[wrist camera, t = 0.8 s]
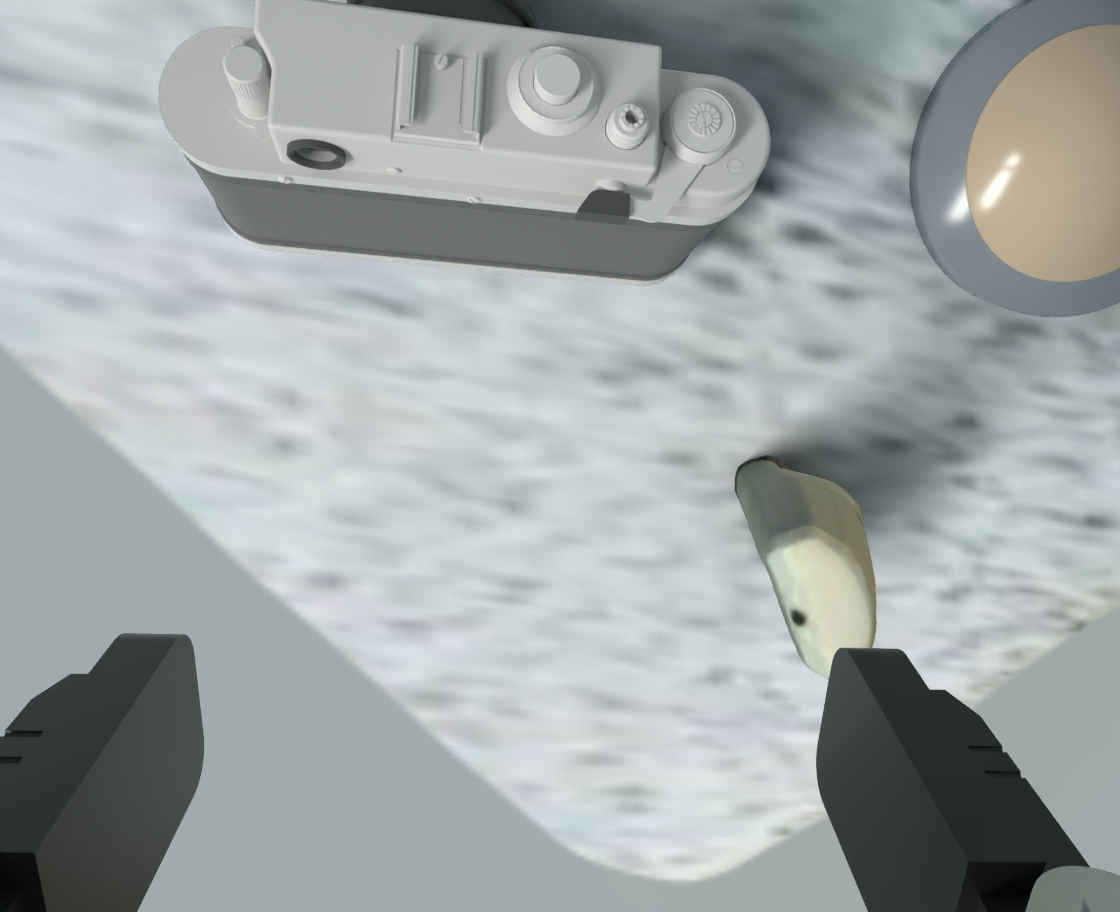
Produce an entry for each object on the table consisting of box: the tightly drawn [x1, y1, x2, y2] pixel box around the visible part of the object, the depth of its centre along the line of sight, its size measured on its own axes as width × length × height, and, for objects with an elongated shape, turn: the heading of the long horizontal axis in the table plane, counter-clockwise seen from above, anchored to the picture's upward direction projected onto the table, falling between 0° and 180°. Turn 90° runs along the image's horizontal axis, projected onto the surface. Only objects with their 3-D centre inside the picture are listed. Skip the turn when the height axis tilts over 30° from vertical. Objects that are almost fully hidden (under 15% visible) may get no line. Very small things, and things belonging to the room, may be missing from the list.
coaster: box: [910, 0, 1120, 317], centre depth 33 cm, size 11×11×2 cm
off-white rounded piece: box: [735, 456, 877, 679], centre depth 33 cm, size 6×5×8 cm
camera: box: [159, 0, 771, 286], centre depth 27 cm, size 9×16×10 cm, turn 85°
